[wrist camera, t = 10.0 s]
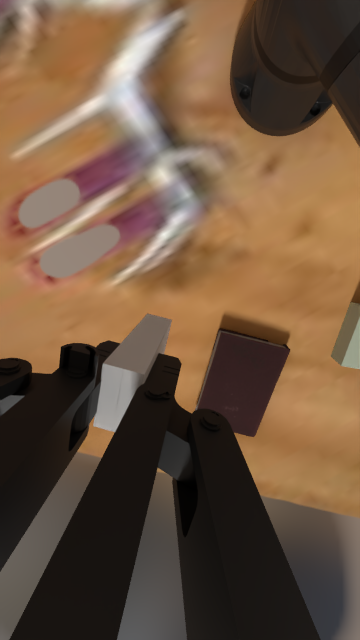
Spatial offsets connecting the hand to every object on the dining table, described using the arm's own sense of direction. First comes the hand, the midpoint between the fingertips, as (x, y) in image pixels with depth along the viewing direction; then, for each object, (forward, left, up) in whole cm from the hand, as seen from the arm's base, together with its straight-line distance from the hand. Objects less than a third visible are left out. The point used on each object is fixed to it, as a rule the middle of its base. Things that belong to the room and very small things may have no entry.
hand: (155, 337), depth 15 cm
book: (+17, +14, -30) cm, 37 cm away
